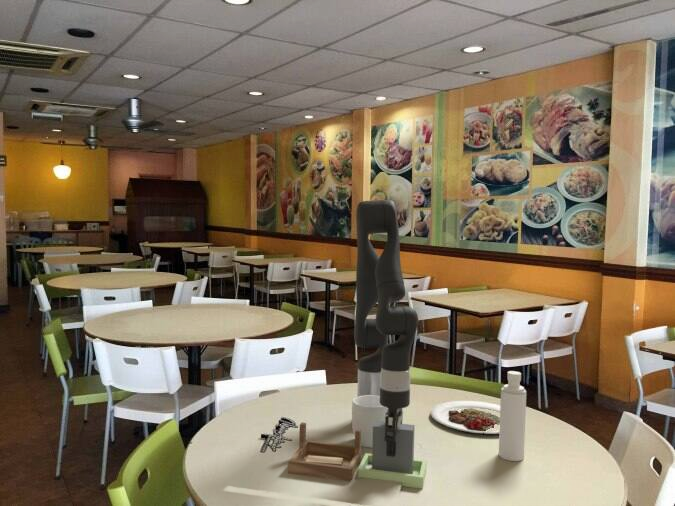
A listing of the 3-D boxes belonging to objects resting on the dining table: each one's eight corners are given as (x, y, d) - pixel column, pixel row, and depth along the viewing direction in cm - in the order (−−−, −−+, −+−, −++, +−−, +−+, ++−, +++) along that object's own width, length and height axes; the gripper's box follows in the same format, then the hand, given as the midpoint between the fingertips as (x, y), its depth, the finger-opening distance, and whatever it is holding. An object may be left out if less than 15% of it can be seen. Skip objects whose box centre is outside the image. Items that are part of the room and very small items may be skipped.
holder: (365, 463, 148) (365, 453, 147) (426, 471, 144) (426, 460, 144) (357, 480, 138) (357, 469, 138) (422, 488, 134) (423, 477, 134)
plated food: (490, 402, 201) (490, 393, 201) (545, 433, 173) (546, 422, 173) (415, 410, 192) (415, 400, 192) (460, 443, 164) (461, 432, 163)
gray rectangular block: (374, 466, 144) (375, 421, 143) (413, 471, 142) (414, 425, 141) (371, 473, 140) (372, 426, 139) (411, 478, 138) (412, 430, 137)
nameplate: (270, 416, 178) (301, 417, 178) (270, 421, 179) (301, 422, 178) (251, 451, 151) (288, 453, 151) (251, 457, 151) (288, 458, 151)
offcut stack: (306, 465, 144) (306, 453, 143) (344, 469, 141) (344, 458, 141) (301, 472, 139) (301, 460, 139) (340, 477, 137) (340, 465, 137)
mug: (388, 434, 169) (389, 391, 168) (408, 447, 159) (409, 402, 158) (344, 441, 162) (345, 397, 161) (362, 456, 152) (363, 409, 152)
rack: (304, 454, 152) (305, 418, 152) (362, 461, 149) (363, 424, 148) (288, 476, 139) (288, 437, 138) (351, 485, 135) (352, 444, 135)
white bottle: (505, 462, 150) (508, 370, 149) (494, 451, 157) (497, 364, 156) (528, 460, 151) (532, 369, 150) (516, 450, 158) (520, 363, 157)
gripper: (406, 395, 132) (404, 462, 133) (413, 379, 146) (411, 440, 146) (375, 392, 134) (373, 459, 134) (384, 377, 147) (383, 437, 148)
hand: (393, 449), depth 140 cm, fingers open, 8 cm apart
